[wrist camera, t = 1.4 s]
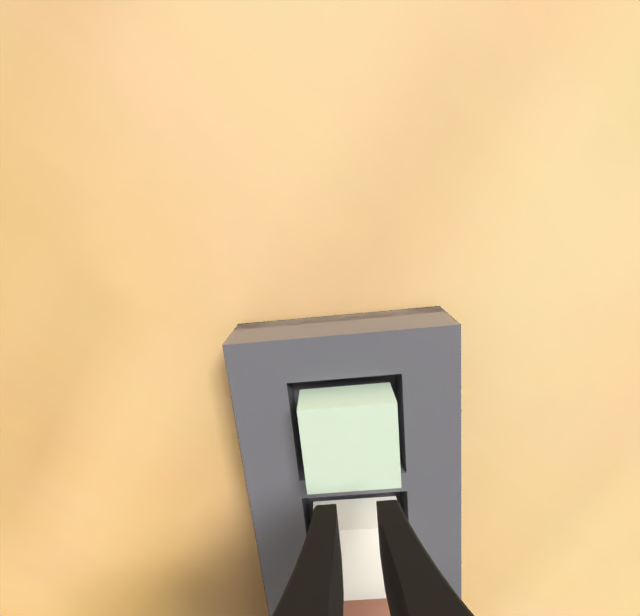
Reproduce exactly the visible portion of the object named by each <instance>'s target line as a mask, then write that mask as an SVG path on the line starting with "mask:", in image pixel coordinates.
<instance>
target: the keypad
mask: <svg viewBox="0 0 640 616" xmlns="http://www.w3.org/2000/svg"><path fill="white" fill-rule="evenodd" d="M222 346H223V351H224V357H225V363H226V369H227V374H228V380H229V386H230V392H231V397H232V403H233V409H234V415H235V420H236V426H237V432H238V438H239V444H240V449H241V455H242V461H243V467H244V472H245V478H246V484H247V490H248V495H249V501H250V507H251V513H252V518H253V524H254V530H255V536H256V541H257V547H258V553H259V559H260V564H261V570H262V576H263V582H264V588H265V593H266V599H267V605H268V611H269V616H272V615H273V613H274V611H275V609H276V607H277V605H278V603H279V601H280V599H281V597H282V595H283V592H284V590H285V588H286V586H287V583H288V581H289V579H290V577H291V575H292V572H293V570H294V568H295V565H296V563H297V560H298V557H299V555H300V552H301V550H302V547H303V544H304V542H305V539H306V536H307V533H308V529H309V526H310V523H311V519H312V515H313V502H316V501H331V500H345V499H359V498H374V497H388V496H396V498H397V501H398V502H399V503H400V505H401V507H402V509H403V511H404V514H405V516H406V517H407V519H408V521H409V523H410V525H411V527H412V528H413V530H414V532H415V534H416V535H417V537H418V539H419V540H420V542H421V543H422V545H423V547H424V548H425V550H426V551H427V553H428V554H429V556H430V557H431V559H432V560H433V562H434V563H435V565H436V566H437V568H438V569H439V571H440V572H441V573H442V575H443V576H444V578H445V579H446V580H447V582H448V583H449V584H450V586H451V587H452V588H453V590H454V591H455V592H456V594H457V595H458V596H459V598H460V599H461V324H460V323H459V322H457V321H456V320H455V319H454V318H453V317H452V316H450V315H449V314H448V313H447V312H446V311H445V310H443V309H442V308H441V307H440V306H435V307H424V308H413V309H402V310H391V311H379V312H368V313H357V314H346V315H334V316H323V317H312V318H301V319H290V320H278V321H267V322H256V323H245V324H238V325H237V327H236V328H235V329H234V331H233V332H232V333H231V334H230V336H229V337H228V338H227V340H226V341H225V342H224V344H223V345H222ZM387 382H390V384H391V387H392V390H393V392H394V395H395V398H396V401H397V407H398V427H399V447H400V467H401V488H393V489H379V490H365V491H351V492H336V493H322V494H308V495H307V489H306V481H305V473H304V465H303V457H302V449H301V441H300V433H299V425H298V417H297V405H298V398H299V391H300V390H301V389H314V388H326V387H338V386H351V385H363V384H375V383H387Z"/></svg>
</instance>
